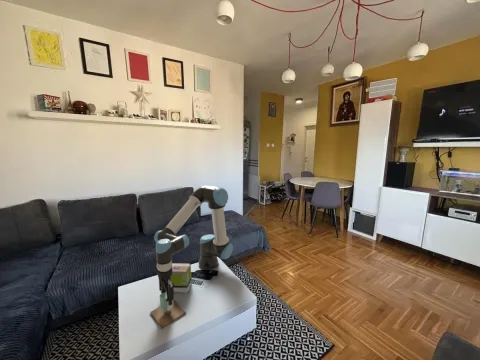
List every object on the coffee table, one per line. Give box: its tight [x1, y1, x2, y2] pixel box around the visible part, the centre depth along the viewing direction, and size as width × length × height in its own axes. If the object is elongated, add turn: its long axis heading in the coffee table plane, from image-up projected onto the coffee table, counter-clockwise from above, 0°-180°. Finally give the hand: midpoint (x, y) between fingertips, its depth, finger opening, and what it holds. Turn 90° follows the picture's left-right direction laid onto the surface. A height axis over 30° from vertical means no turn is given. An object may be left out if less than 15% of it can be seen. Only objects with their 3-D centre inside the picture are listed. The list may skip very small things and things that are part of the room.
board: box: [150, 299, 187, 330], centre depth 116 cm, size 14×14×1 cm
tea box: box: [170, 262, 193, 294], centre depth 136 cm, size 15×10×15 cm, turn 87°
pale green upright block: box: [159, 292, 174, 312], centre depth 115 cm, size 5×5×8 cm
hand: (167, 306), depth 116 cm, fingers closed on pale green upright block, 5 cm apart
